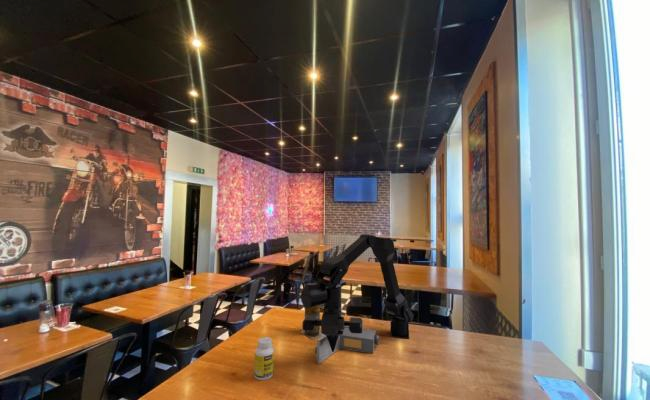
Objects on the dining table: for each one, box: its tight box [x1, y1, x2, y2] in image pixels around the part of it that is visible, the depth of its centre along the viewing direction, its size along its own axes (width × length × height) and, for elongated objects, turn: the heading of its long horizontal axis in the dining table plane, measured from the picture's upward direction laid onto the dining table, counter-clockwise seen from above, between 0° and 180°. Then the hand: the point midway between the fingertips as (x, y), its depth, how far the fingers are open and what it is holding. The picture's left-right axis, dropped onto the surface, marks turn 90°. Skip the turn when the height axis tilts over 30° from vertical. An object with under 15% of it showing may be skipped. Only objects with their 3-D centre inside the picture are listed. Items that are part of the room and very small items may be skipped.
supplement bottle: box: [253, 336, 275, 381], centre depth 77 cm, size 5×5×10 cm
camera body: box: [337, 328, 380, 354], centre depth 95 cm, size 14×9×7 cm
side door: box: [314, 335, 339, 364], centre depth 87 cm, size 11×2×7 cm, turn 145°
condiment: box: [299, 305, 325, 340], centre depth 105 cm, size 7×8×12 cm
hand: (333, 351), depth 84 cm, fingers closed
